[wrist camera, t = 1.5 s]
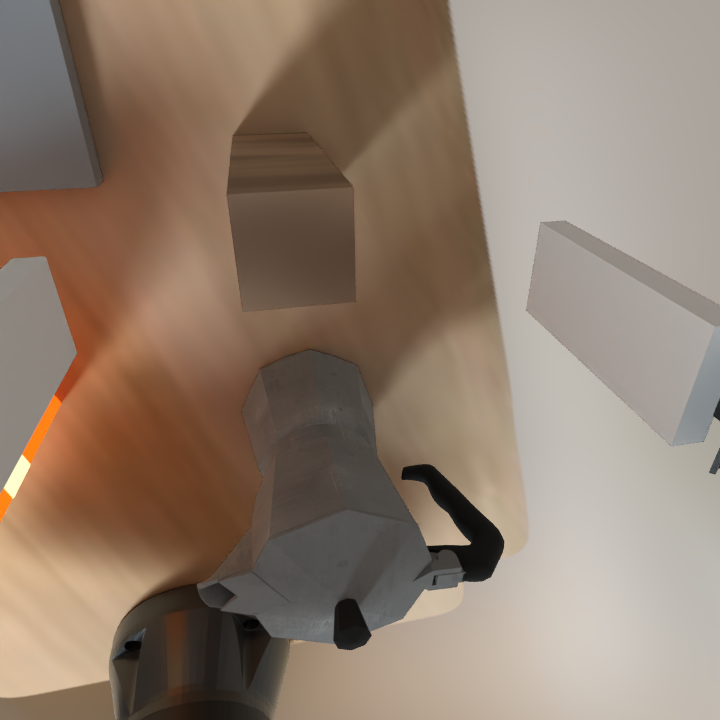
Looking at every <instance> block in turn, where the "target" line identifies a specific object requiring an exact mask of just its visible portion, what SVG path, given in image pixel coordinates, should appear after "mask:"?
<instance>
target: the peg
mask: <svg viewBox="0 0 720 720" xmlns="http://www.w3.org/2000/svg"><path fill="white" fill-rule="evenodd" d="M227 201H228V208H229V216H230V223H231V230H232V238H233V245H234V252H235V260H236V267H237V275H238V282H239V289H240V297H241V304H242V312H248V311H259V310H270V309H281V308H292V307H304V306H315V305H326V304H337V303H348V302H356V289H355V235H354V187H353V186H352V185H351V184H350V182H349V181H348V180H347V179H346V178H345V177H344V175H343V174H342V173H341V172H340V171H339V169H338V168H337V167H336V166H335V165H334V163H333V162H332V161H331V160H330V159H329V158H328V156H327V155H326V154H325V153H324V152H323V150H322V149H321V148H320V147H319V146H318V145H317V143H316V142H315V141H314V140H313V139H312V137H311V136H310V135H309V134H308V133H283V134H257V135H233V137H232V147H231V157H230V167H229V176H228V186H227Z"/></svg>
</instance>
